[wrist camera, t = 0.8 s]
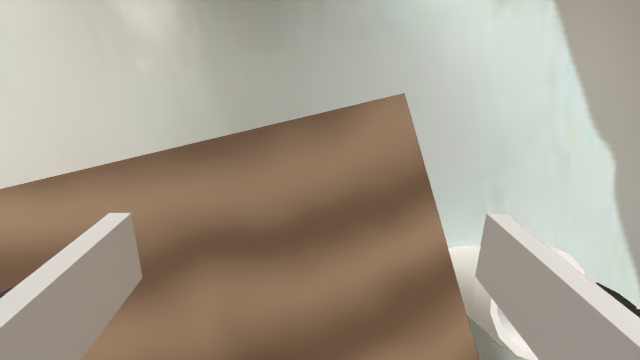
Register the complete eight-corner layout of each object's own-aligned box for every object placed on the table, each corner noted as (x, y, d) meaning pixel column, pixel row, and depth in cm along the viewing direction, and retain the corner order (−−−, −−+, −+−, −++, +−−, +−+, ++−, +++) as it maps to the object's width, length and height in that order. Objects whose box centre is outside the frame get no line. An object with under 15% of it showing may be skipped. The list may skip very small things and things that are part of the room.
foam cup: (445, 218, 42) (523, 224, 29) (507, 258, 43) (609, 281, 30) (406, 288, 41) (470, 327, 28) (471, 328, 42) (561, 383, 29)
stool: (115, 199, 37) (-60, 192, 17) (337, 142, 41) (402, 85, 21) (174, 430, 36) (62, 699, 17) (394, 350, 40) (517, 492, 20)
